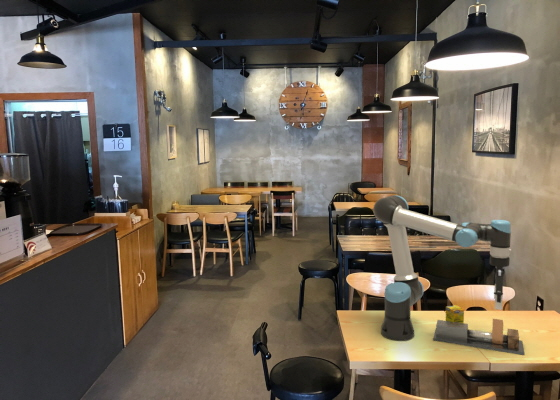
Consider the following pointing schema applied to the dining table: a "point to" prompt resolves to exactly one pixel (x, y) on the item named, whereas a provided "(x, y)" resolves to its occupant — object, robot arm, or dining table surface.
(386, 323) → the robot arm
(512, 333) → the socket block
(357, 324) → the dining table surface
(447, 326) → the base
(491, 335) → the clear cylinder with block
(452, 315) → the supplement box
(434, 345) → the dining table surface
